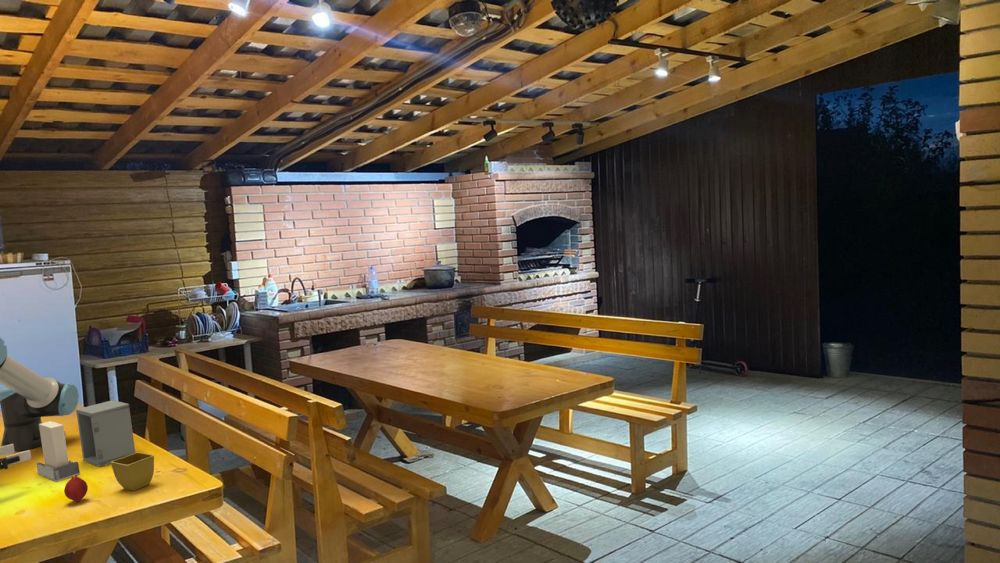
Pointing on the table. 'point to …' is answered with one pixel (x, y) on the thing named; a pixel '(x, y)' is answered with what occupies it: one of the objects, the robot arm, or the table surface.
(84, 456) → the cabinet
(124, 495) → the table surface
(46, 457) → the door
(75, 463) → the drawer
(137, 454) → the flower pot
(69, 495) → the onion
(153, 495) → the table surface
